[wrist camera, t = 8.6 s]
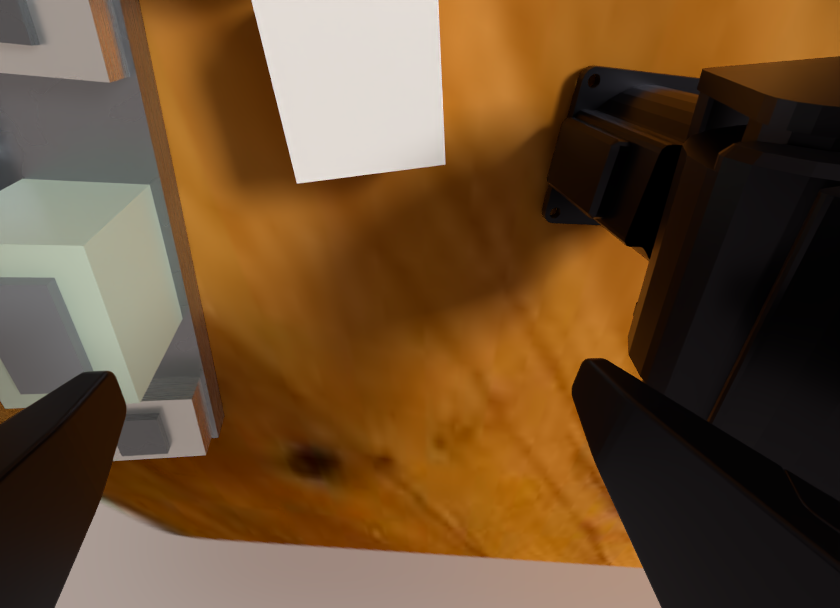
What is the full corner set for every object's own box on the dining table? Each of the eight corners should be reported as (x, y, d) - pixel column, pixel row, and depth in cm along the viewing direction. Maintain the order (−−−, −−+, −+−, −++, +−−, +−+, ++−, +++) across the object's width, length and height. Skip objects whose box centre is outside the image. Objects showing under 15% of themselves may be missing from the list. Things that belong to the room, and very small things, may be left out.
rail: (117, -103, 12) (55, -135, 10) (224, 416, 25) (209, 467, 22) (-136, -144, 11) (-288, -194, 9) (106, 421, 23) (75, 476, 21)
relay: (415, -13, 15) (437, -20, 12) (425, 136, 18) (445, 164, 15) (270, 1, 15) (250, -2, 11) (304, 151, 17) (296, 183, 14)
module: (149, 184, 16) (76, 252, 11) (182, 318, 19) (135, 411, 14) (22, 178, 15) (-111, 249, 10) (79, 319, 18) (-3, 418, 14)
